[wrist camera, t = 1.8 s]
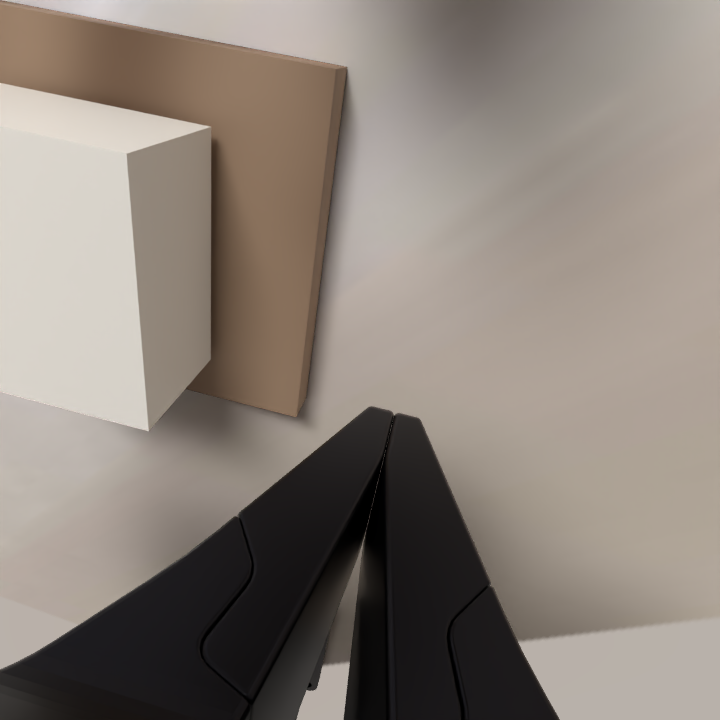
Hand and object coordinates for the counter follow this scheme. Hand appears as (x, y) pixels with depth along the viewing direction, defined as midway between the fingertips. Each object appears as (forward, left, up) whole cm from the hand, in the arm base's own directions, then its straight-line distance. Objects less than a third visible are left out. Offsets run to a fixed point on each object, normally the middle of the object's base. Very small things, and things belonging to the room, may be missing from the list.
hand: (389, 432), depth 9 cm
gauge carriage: (-1, +9, -5) cm, 10 cm away
